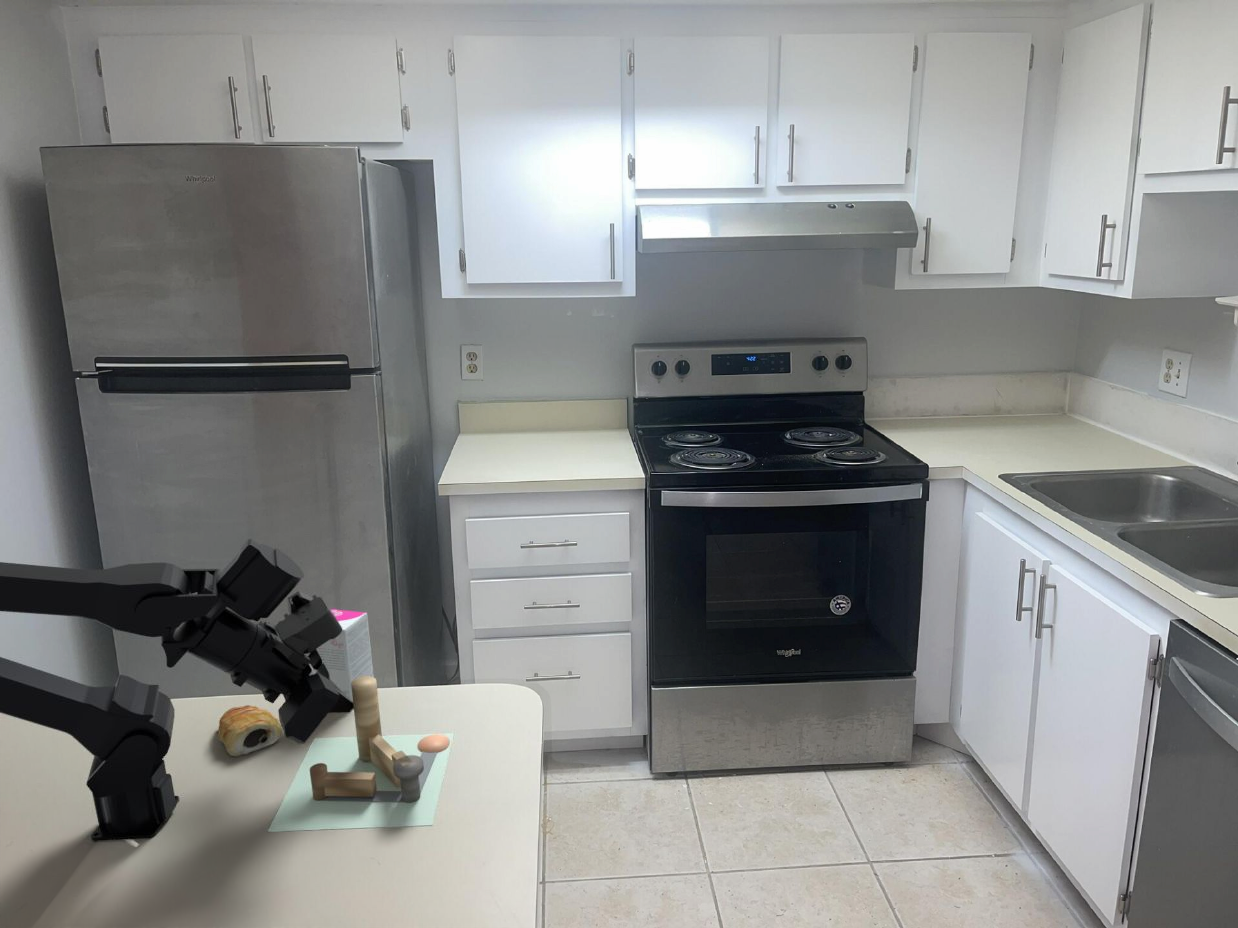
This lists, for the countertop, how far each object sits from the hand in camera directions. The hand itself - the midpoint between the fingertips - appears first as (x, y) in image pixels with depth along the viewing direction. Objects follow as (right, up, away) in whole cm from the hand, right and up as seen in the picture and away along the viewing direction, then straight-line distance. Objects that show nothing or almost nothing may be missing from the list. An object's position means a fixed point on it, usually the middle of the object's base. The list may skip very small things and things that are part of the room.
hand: (352, 708), depth 103 cm
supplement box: (-6, -3, +15) cm, 17 cm away
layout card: (+3, -8, -2) cm, 8 cm away
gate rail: (+5, -7, -2) cm, 9 cm away
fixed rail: (+3, -8, -5) cm, 10 cm away
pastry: (-15, -6, +6) cm, 17 cm away
